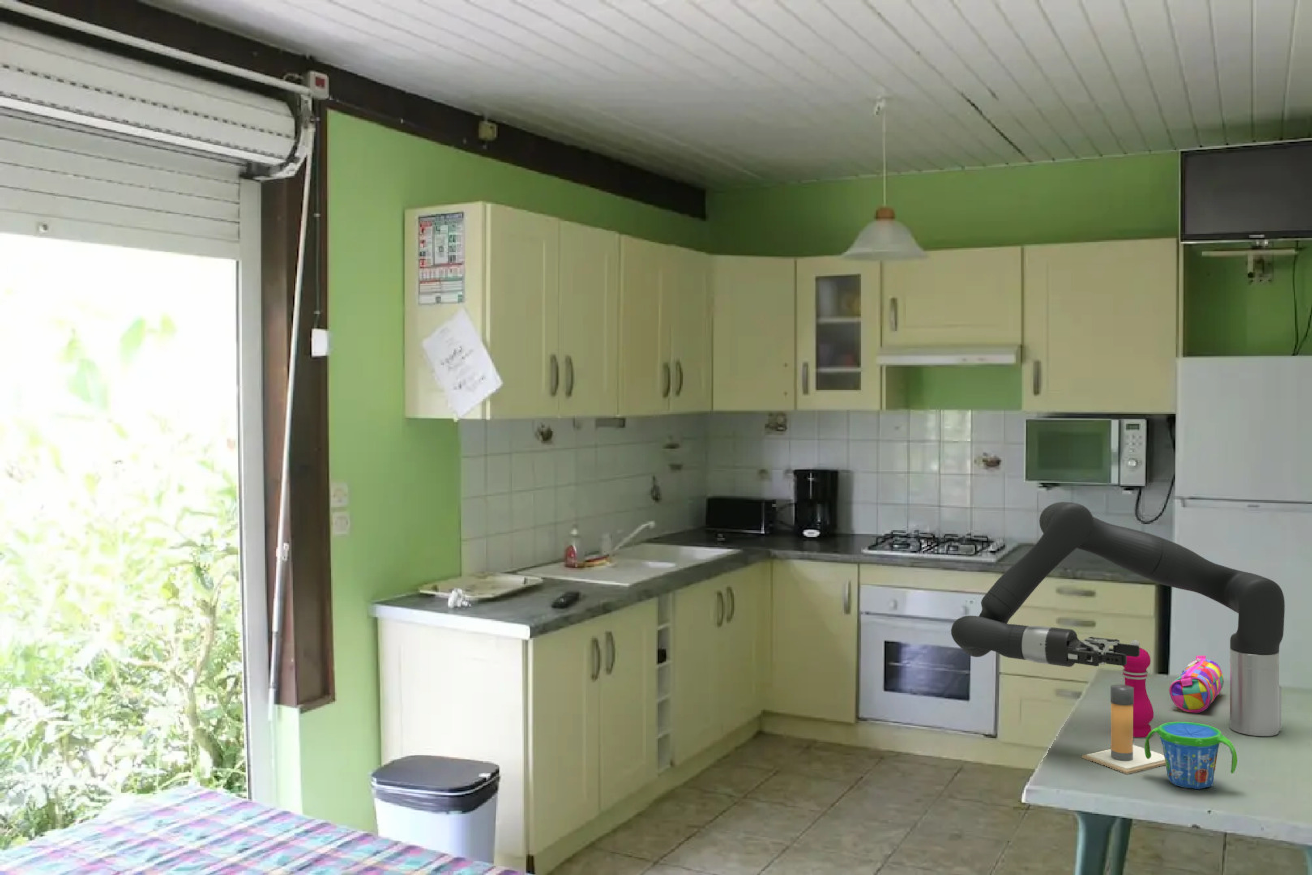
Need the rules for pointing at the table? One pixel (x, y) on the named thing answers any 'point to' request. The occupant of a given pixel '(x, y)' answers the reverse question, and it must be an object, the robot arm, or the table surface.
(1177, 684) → the pencil case
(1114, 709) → the orange grey cylinder
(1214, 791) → the table surface
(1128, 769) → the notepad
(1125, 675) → the pepper mill
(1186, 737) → the snack cup
